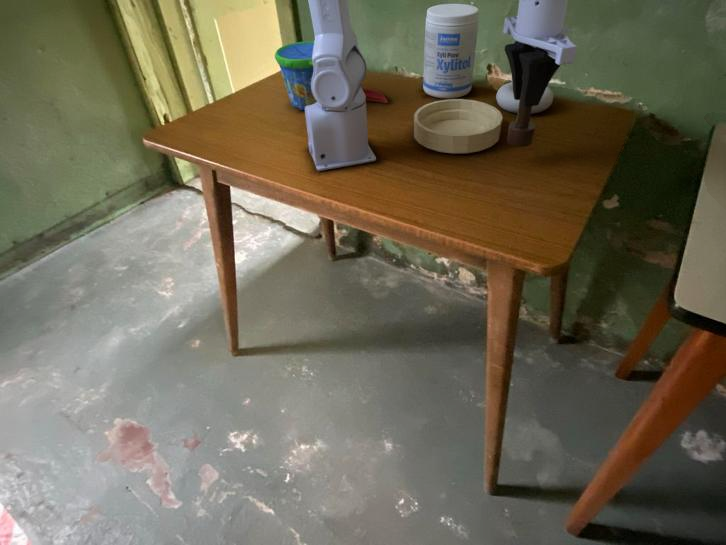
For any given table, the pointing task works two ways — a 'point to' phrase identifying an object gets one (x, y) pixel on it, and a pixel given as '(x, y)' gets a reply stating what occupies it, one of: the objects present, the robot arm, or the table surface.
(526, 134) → the pestle
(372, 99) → the red curved leaf
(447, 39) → the supplement tub
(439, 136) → the bowl
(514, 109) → the donut
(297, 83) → the snack cup
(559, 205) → the table surface
